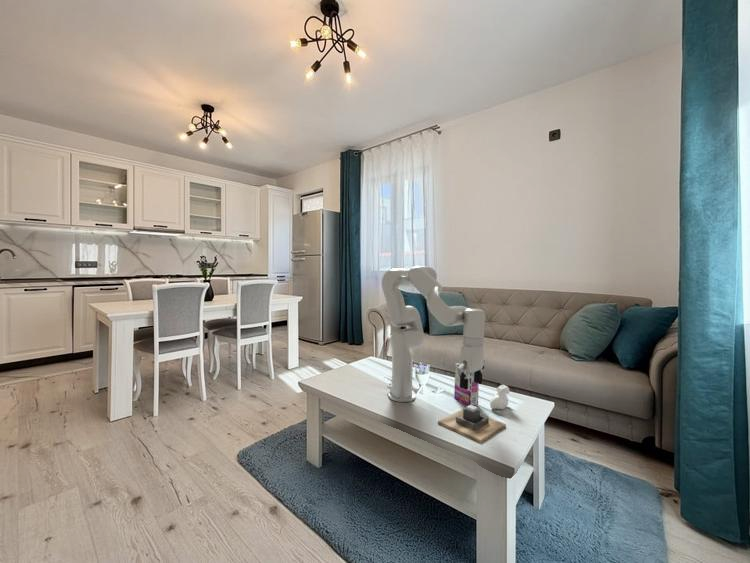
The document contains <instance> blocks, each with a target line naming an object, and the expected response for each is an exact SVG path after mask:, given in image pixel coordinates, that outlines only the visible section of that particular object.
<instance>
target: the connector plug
mask: <svg viewBox="0 0 750 563" xmlns="http://www.w3.org/2000/svg"><path fill="white" fill-rule="evenodd" d="M462 409H463V419H465V420H468V421H470V422H473V423H477V422H479V421H480V415H481V409H479V407H478V406H473V405H469V406H467V405H466V407H465V408H462Z"/></svg>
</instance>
